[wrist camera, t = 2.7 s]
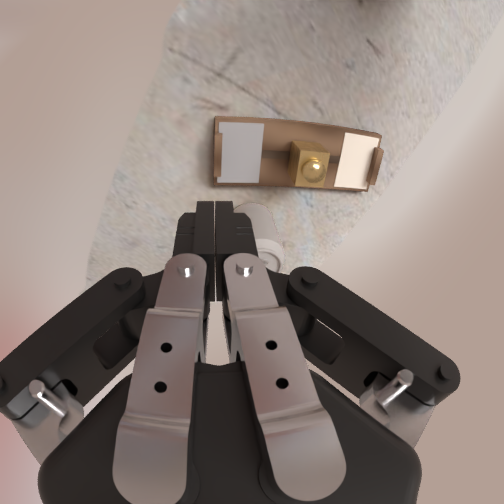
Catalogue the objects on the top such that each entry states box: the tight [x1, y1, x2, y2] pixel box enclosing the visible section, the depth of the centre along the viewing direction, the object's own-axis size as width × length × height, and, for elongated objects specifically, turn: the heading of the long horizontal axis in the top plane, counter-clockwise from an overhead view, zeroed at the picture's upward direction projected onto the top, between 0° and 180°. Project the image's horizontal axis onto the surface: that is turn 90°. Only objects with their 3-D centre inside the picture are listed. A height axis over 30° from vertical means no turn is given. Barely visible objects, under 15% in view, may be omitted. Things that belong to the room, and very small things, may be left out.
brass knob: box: [287, 140, 330, 187], centre depth 36 cm, size 5×4×6 cm
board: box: [214, 116, 384, 192], centre depth 39 cm, size 10×25×3 cm, turn 86°
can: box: [234, 203, 286, 273], centre depth 42 cm, size 8×8×12 cm
